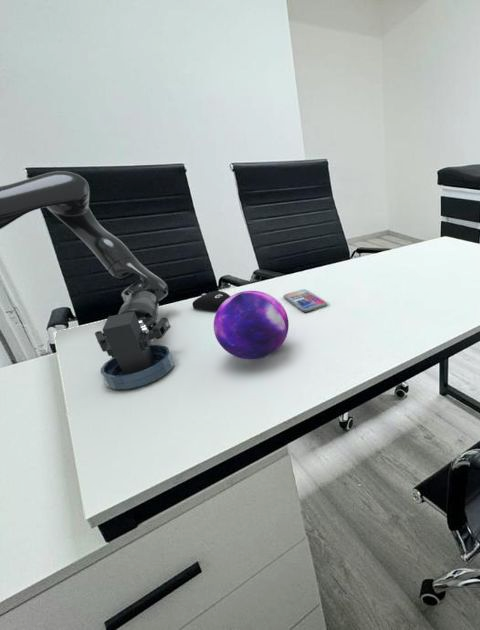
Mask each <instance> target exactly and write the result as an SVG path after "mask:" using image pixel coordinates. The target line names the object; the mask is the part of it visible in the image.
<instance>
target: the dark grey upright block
mask: <svg viewBox="0 0 480 630" xmlns="http://www.w3.org/2000/svg"><path fill="white" fill-rule="evenodd" d="M101 331H102V333H103V332H104V335H105V337H106V339H107V341H108V343H109V345H110V347H111V349H112V351H113V353H114V355H115V357H116V360H117V362H118V364H119V366H120V368H121V370H122V372H123V374H124V375H126V374H132V373H135V372H138V371H142V370H144V369H146V368H149V367H151V366H153V365H154V360H155V359H154V356H153V354H152V352H151V349H150V347H147V350H142V348H141V346H140V344H139V339H140V336H141V334H142V332H141V331H142V328H141V326H140V323H139V321H138V319H137V316H136V314H135V312H134V311H133V312H128V313H123V314H119V315H118V314H115V315H109V316H107V319H106V321H105V323H104V325H103V327H102V330H101Z"/></svg>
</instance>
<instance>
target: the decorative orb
mask: <svg viewBox="0 0 480 630" xmlns="http://www.w3.org/2000/svg"><path fill="white" fill-rule="evenodd" d="M230 296H231V297H229V298H228V299H226V300H225V301H224V302H223V303H222V304H221V306H220V307H219V308H218V310H217V311H215V316H214V318H213V332H214V336H215V338H216V340H217V342H218V344H219V345H220V346H221V348H222V349H223V350H224V351H225V352H227V353H228V354H230V355H232V356H233V357H236V358H239V359H241V360H259V359H262V358H266V357H268V356H270V355H272V354H273V353H275V352H276V351H277V350H278V349H279V348H280V347H281V346H282V345H283V344H284V342H285V340H286V338H287V337H288V333H289V323H290V321H289V316H288V313H287V311H286V309H285V307H284V306H283V304H282V303H281V302H280V301H279V300H278V299H277V298H276V297H274V296H272V295H271V294H269V293H267V292H263V291H261V290H260V291H259V290H243V291H240V292H236V293H234V294H232V295H230Z"/></svg>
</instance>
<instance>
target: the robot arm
mask: <svg viewBox="0 0 480 630" xmlns="http://www.w3.org/2000/svg"><path fill="white" fill-rule="evenodd" d="M90 196H91V190H90V185H89V182H88V181H87V180H86V179H85V178H84V177H82V176H81V175H80V174H78V173H75V172H70V171H65V170H57V171H50V172H46V173H43V174H39V175H36V176H32V177H28V178H27V179H24V180H20V181H16V182H13V183H9V184H5V185H0V230H3V229H5V227H7V226H9V225H10V224H12V223H13V222H15V221H16V220H18V219H20V218H21V217H23V216H25V215H27V214H28V213H31V212H33V211H36V210H39V209H40V210H41V209H43V208H46V209H48V210H49V212H51V213H52V214H53V215H54V216H55V217H56V218H57V219H58V220H59V221H60V222H62V223H63V224H65V225H66V227H68V228H69V230H71V231H72V232H73V233H74V234H75V236H77V237H78V238H79V239H80V240H81V241H82V242H83V243H84V244H85V245H86V246H87V247H88V248H89V250H91V252H92V253H93V254H94V255H95V256H96V258H97V259H98V260H99V261H100V263H101V264H102V265H103V267H105V269H106V270H107V271H108V272H109V274H110V275H111V276H112V277H113V279H115V280H117V281H126V280H130V279H132V278H135V277H138V278H140V279H139V280H137V281H136V282H134V283H132V284H131V285H129V286H128V287H126V288H125V289H124V290H123V291H122V292H121V294H120V296H121V297H120V298H121V299H122V301H123V304H122V305H121V306H120V307H119V311H118V313H117V315H119V314H123V313H128V312H133V311H134V312H135V314H136V316H137V319H138V321H139V323H140V326H141V328H142V331H141V332H142V334H141V336H140V339H139V344H140V346H141V348H142V350H147V347H149V346H150V345H152V342H153V341H154V339H156V340H160V339H162V338H164V336H165V335H166V334H167V333H168V331H169V330H170V329H171V327H172V326H171V324H170V321H169V319H168V316H162V317H161V318H160V319H158V318H159V307H160V303H159V302H160V301H161V300H163V299H164V298H166V297H167V296H168V295H169V286H168V284H167V283H166V281H164V280H163V279H162V278H161V277H159V276H157V275H156V274H155V273H153V272H152V271H150V270H149V269H148V268H147V267H146V266H145V265H143V264H142V263H141V262H140V261H139V260H138V258H137V257H136V256H135V255H134V254H133V253H132V251H131V249H129V247H128V246H127V245H126V244H125V243H124V242H123V241H122V240H121V239H119V238H118V237H117V236H116V235H114V234H113V233H111V232H109V231H108V230H107V229H105V228H104V227H103V226H102V225H101V223H99V221H98V220H97V219H96V217H95V215H94V214H93V212H92V210H91V208H90ZM94 335H95V339H96V340H97V343H98V345H99V347H100V349H101V351H102V352H106V353H107V355H108V357H111V358H114V357H115V355H114V353H113V351H112V349H111V347H110V345H109V343H108V341H107V339H106V337H105V335H104V332H103V330H98V331H95V332H94Z"/></svg>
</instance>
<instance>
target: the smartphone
mask: <svg viewBox="0 0 480 630" xmlns="http://www.w3.org/2000/svg"><path fill="white" fill-rule="evenodd" d="M283 299H285V300H286V301H288V302H289V303H290V304H292V305H294V306H295V307H296V308H298V309H299V310H301V311H302V312H306V313H307V312H310V311H313V310H317V309H320V308H322V307H326V306H327V304H328V303H327V301H325V300H323V299H322V298H320V297H319V296H317V295H316V294H314V293H313V292H310V291H309V290H307V289H304V288H303V289H298V290H295V291H291V292H289V293H285V294H284V295H283Z"/></svg>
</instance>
